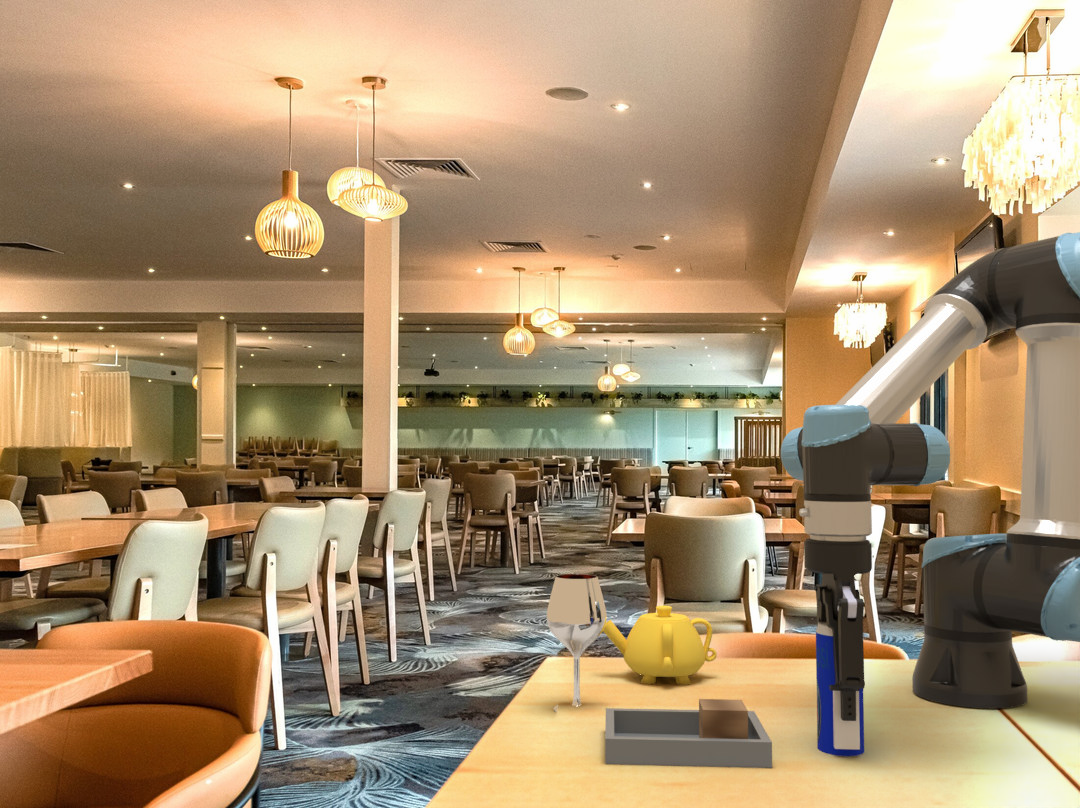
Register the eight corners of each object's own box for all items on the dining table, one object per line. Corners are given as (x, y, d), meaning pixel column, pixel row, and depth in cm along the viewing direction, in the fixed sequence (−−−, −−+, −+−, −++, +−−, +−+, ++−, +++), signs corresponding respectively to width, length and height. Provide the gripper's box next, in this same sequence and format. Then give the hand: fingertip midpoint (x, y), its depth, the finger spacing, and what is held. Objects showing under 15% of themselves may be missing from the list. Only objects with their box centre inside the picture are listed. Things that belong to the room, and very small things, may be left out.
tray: (754, 740, 118) (754, 711, 118) (772, 775, 105) (771, 742, 105) (605, 737, 119) (605, 708, 120) (605, 771, 107) (605, 738, 107)
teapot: (658, 664, 162) (657, 596, 162) (725, 677, 152) (724, 605, 152) (597, 677, 152) (597, 605, 152) (665, 693, 142) (664, 616, 142)
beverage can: (828, 746, 116) (826, 619, 116) (871, 755, 112) (869, 623, 113) (810, 756, 112) (808, 624, 112) (854, 765, 108) (851, 629, 109)
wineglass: (556, 720, 127) (556, 581, 128) (539, 704, 135) (539, 574, 136) (615, 715, 129) (614, 579, 130) (595, 700, 137) (595, 572, 138)
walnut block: (742, 742, 114) (741, 699, 115) (748, 756, 109) (747, 710, 110) (699, 742, 115) (698, 698, 115) (703, 754, 110) (702, 709, 110)
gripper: (790, 531, 123) (792, 718, 121) (821, 544, 105) (824, 764, 103) (851, 531, 122) (854, 720, 121) (892, 544, 104) (897, 766, 103)
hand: (840, 740), depth 112 cm, fingers closed on beverage can, 5 cm apart
